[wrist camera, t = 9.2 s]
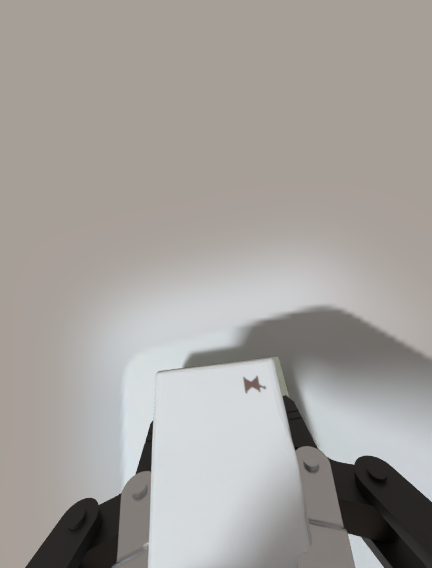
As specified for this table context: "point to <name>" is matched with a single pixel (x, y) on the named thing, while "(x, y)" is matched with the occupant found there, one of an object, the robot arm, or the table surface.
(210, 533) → the skincare box
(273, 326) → the table surface
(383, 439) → the table surface
